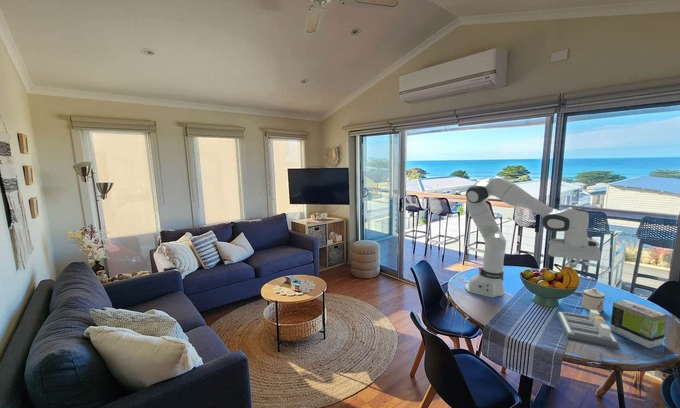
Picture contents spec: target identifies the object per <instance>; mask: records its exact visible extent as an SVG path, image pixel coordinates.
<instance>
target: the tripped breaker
mask: <svg viewBox="0 0 680 408" xmlns="http://www.w3.org/2000/svg"><path fill="white" fill-rule="evenodd" d="M599 324H605V325H606V320H605V319H604V317H602V316H594V324H593V326H594V327H595V328H599Z"/></svg>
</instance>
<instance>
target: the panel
mask: <svg viewBox="0 0 680 408" xmlns="http://www.w3.org/2000/svg"><path fill="white" fill-rule="evenodd" d="M556 313H557V315H556V316H557V317H558V319H559V322H560V324H561V327H562V329H563V331H564V333H565V335H566V337H567V338H568V339H572V340H573V339H574V340H577V341H583V342H588V343H593V344H598V345H604V346H607V347H613V348H619V342H618V341H617V339H616V338H615V336H614V335H613V334H612V331H611V329H610V327H611V326H609V325H608V324H606V323H605V324H599V328H595V327H594V326H593V324H594V316H600V315H601V313H600V312H598V311H597V310H591V309H590V311H589V315H586V314H579V313H575V312H569V311H568V312H567V311H559V310H558V311H557V312H556ZM600 317H601V316H600Z"/></svg>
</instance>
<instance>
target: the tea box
mask: <svg viewBox="0 0 680 408" xmlns="http://www.w3.org/2000/svg"><path fill="white" fill-rule="evenodd" d="M667 319H668V313H665V312H663V311H659V310H657V309H654V308H651V307H648V306H646V305H643V304H640V303H637V302H634V301H631V300H628V299H623V300H620V301H615V302H613V303H612V311H611V317H610V326H609V327H610V329H611V331H610V332H613V333H615V334H617V335H619V336H622V337H624V338H626V339H628V340H631V341H633V342H635V343H636V344H638V345H640V346H643V347H644V348H647V349H652V348H656V347H659V346H662V345H663V344H664V341H665V340H664V339H665V333H666V326H667V322H668V321H667Z"/></svg>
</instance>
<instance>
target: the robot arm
mask: <svg viewBox="0 0 680 408" xmlns="http://www.w3.org/2000/svg"><path fill="white" fill-rule="evenodd" d="M491 196H493V197H496V198H497V199H498V200H500V201H502V202H504V203H505V204H507V205H509V206H510V207H520V208H522V207H523V208H527V209H529V210H531V211H532V212H534V213H536V214H537V215H539V216H541V217H542V219H541V224H542V226H543V228H544V229H545V230H547V231H548V232H563V233H564V234H563V238H554V237H553V238H551V239H550V240H548V246H549V247H548V252H547V253H548V255H549V256H550V257H553V258H562V259H563V258H564V259H565V260H566V261H567V264H568V267H569V268H577V265H578V264H579V263H580V262H581V261H584V260H585V261H591V262H600V260H601V257H602V256H601V255H602V254H601V249H600V243H599V242H598V240H596V239H594V238H590V237H588V228H589V223H590V222H589V221H590V219H589V218H590V215H589V212H588V211H587V210H586V209H584V208H582V207H578V206H569V207H566V208H565V209H561V208H560V209H559V208H555V207H552V206H551V205H548V204H546V203H545V202H542V201H541V200H539V199H537V198H535V197H534V196H533V195H531V194H530V193H529V192H527V191H526V190H525V189H523V188H522V187H520V186H519V185H517V184H515V183H514V182H512V181H510V180H508V179H506V178H504V177H500V176H495V177H492V178H491V177H485V178H481V179H480V180H478V181H477V182H475V183H474V184H473V185H470V186H469V187H468V189H467V190H466V191H465V197H466V201H465V204H466V209H467V210H468V212H469V214H470V217H471V219H472V220H473V222H474V225H475V226H476V228H477V230H478V231H479V233H480V235H481V237H482V238H483V240H484V253H483V264H482V266H479V267H478V270H479V271H478V273H477V274H475V275H473V276H471V277H470V278H469V281H468V282H466V283H465V286H464V289H465V291H466V292H468V293H471V294H476V295H480V296H484V297H488V298H495V297H502V296H504V295H505V290H504V283H503V281H504V277H505V276H504V275H505V273H504V263H505V262H504V259H505V254H506V248H507V240H506V238H505V236H504V234H503V233H502V230H501V229H500V227H499V225H498V223H497V221H496V219H495V217H494V215H493V213H492V212H491V210H490V208H489V206H488V205H487V202H486V201H487V199H489V197H491ZM572 259H573V260H575V261H574V262H571V260H572Z"/></svg>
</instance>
